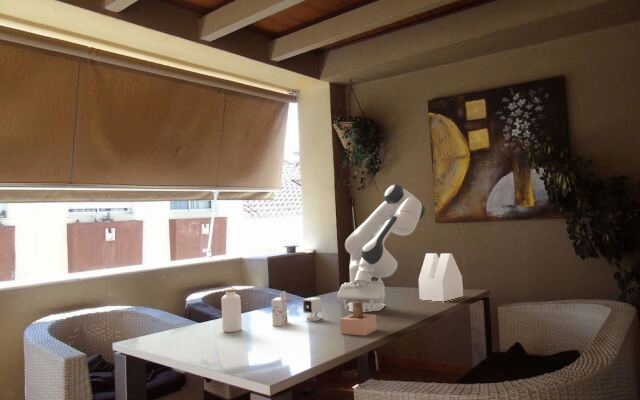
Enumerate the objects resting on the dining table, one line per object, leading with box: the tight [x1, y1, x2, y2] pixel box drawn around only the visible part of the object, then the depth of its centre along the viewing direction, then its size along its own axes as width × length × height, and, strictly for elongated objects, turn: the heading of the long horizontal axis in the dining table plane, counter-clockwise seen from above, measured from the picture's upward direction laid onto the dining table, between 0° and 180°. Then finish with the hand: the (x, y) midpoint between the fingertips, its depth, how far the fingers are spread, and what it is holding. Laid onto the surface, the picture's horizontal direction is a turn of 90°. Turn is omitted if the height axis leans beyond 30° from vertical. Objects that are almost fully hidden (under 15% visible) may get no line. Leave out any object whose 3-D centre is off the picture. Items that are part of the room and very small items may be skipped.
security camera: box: [302, 296, 323, 322], centre depth 231 cm, size 6×7×10 cm
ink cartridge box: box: [270, 290, 288, 327], centre depth 226 cm, size 9×5×15 cm, turn 168°
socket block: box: [339, 313, 378, 337], centre depth 201 cm, size 11×11×6 cm
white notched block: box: [418, 252, 464, 303], centre depth 271 cm, size 19×15×25 cm
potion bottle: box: [221, 288, 243, 333], centre depth 217 cm, size 8×8×18 cm
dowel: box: [352, 301, 364, 319], centre depth 201 cm, size 4×4×12 cm
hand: (356, 310), depth 201 cm, fingers open, 8 cm apart
